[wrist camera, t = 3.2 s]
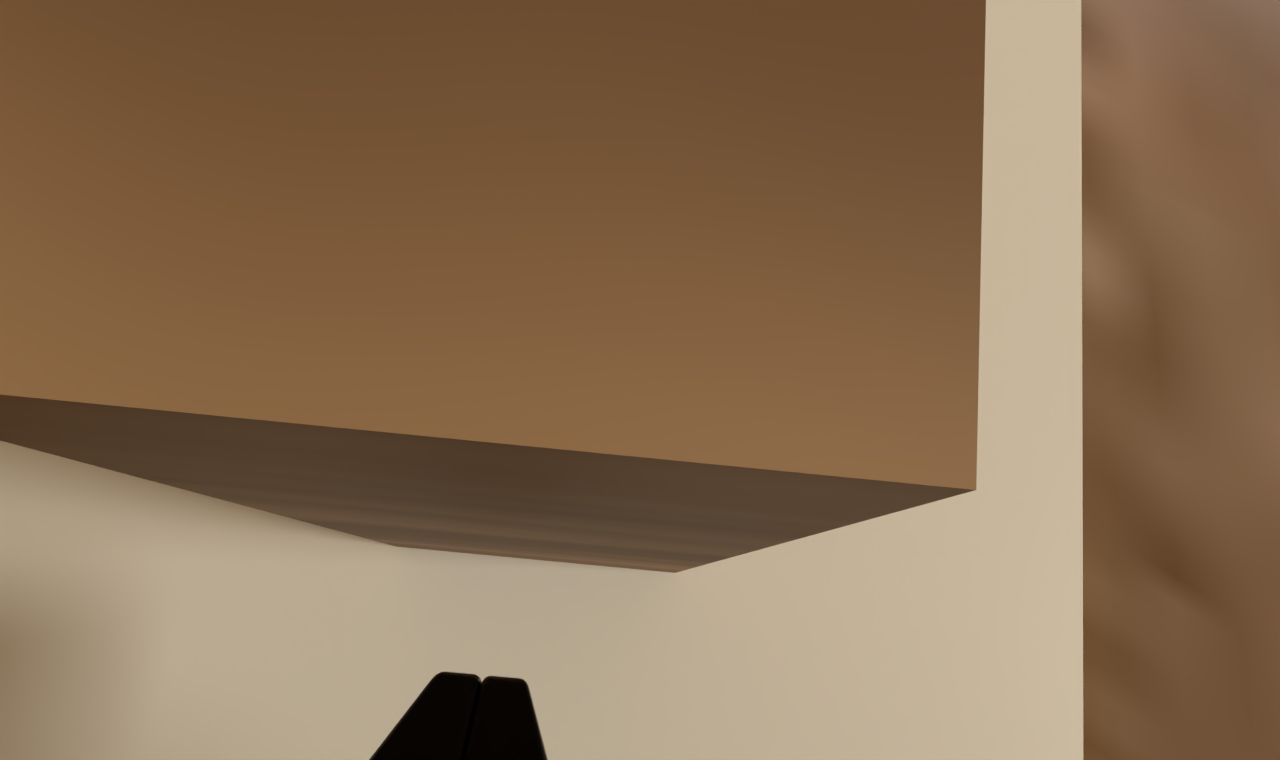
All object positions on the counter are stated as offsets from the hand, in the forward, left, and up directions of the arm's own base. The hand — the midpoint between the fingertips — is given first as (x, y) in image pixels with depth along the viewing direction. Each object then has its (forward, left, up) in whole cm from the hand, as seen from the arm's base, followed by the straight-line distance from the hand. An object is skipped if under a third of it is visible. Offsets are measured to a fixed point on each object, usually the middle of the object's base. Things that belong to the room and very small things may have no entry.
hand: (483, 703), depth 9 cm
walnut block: (+4, 0, -7) cm, 8 cm away
